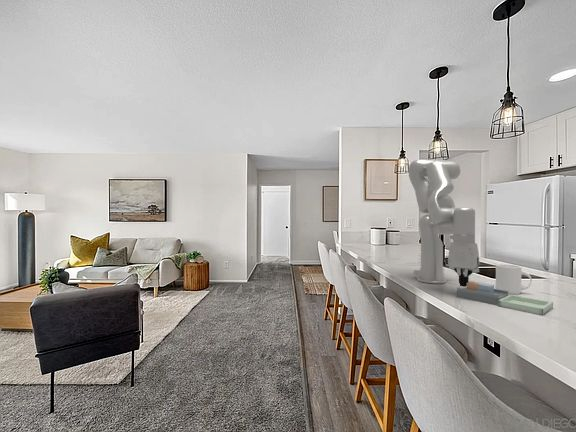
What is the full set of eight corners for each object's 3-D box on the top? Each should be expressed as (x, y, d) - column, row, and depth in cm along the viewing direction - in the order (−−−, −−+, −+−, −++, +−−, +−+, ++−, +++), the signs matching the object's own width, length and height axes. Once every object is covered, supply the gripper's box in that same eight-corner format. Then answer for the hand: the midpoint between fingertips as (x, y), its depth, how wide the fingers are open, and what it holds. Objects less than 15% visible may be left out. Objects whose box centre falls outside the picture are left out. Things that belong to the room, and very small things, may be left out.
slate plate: (456, 296, 120) (456, 287, 120) (467, 292, 127) (467, 284, 127) (498, 305, 109) (498, 295, 109) (508, 300, 116) (508, 291, 116)
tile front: (477, 292, 117) (478, 284, 117) (482, 290, 120) (482, 283, 120) (490, 294, 114) (490, 286, 114) (494, 293, 117) (494, 285, 117)
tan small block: (466, 290, 120) (466, 282, 120) (470, 288, 123) (470, 281, 123) (477, 292, 117) (478, 284, 117) (482, 290, 120) (482, 283, 120)
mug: (533, 296, 121) (534, 269, 121) (496, 292, 127) (497, 266, 127) (529, 291, 129) (529, 265, 129) (494, 288, 135) (494, 263, 135)
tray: (497, 306, 109) (497, 300, 109) (510, 300, 116) (510, 294, 116) (542, 315, 99) (542, 309, 99) (552, 308, 107) (552, 302, 107)
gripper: (440, 238, 127) (439, 283, 127) (480, 241, 115) (480, 291, 115) (448, 237, 131) (448, 281, 131) (489, 240, 119) (488, 288, 119)
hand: (463, 285), depth 123 cm, fingers closed
